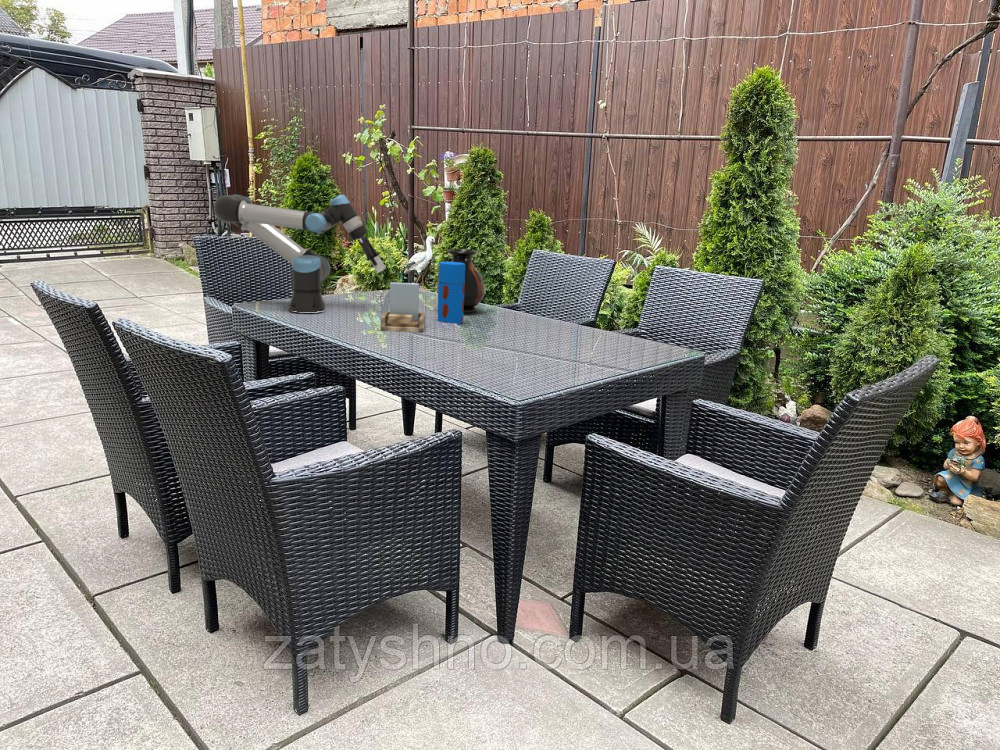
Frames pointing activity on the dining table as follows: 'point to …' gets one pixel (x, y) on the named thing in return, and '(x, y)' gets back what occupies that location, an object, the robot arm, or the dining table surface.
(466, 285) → the amphora vase
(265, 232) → the robot arm
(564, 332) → the dining table surface
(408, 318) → the offcut
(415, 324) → the offcut
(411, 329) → the box
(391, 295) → the pale blue block
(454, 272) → the thermos
